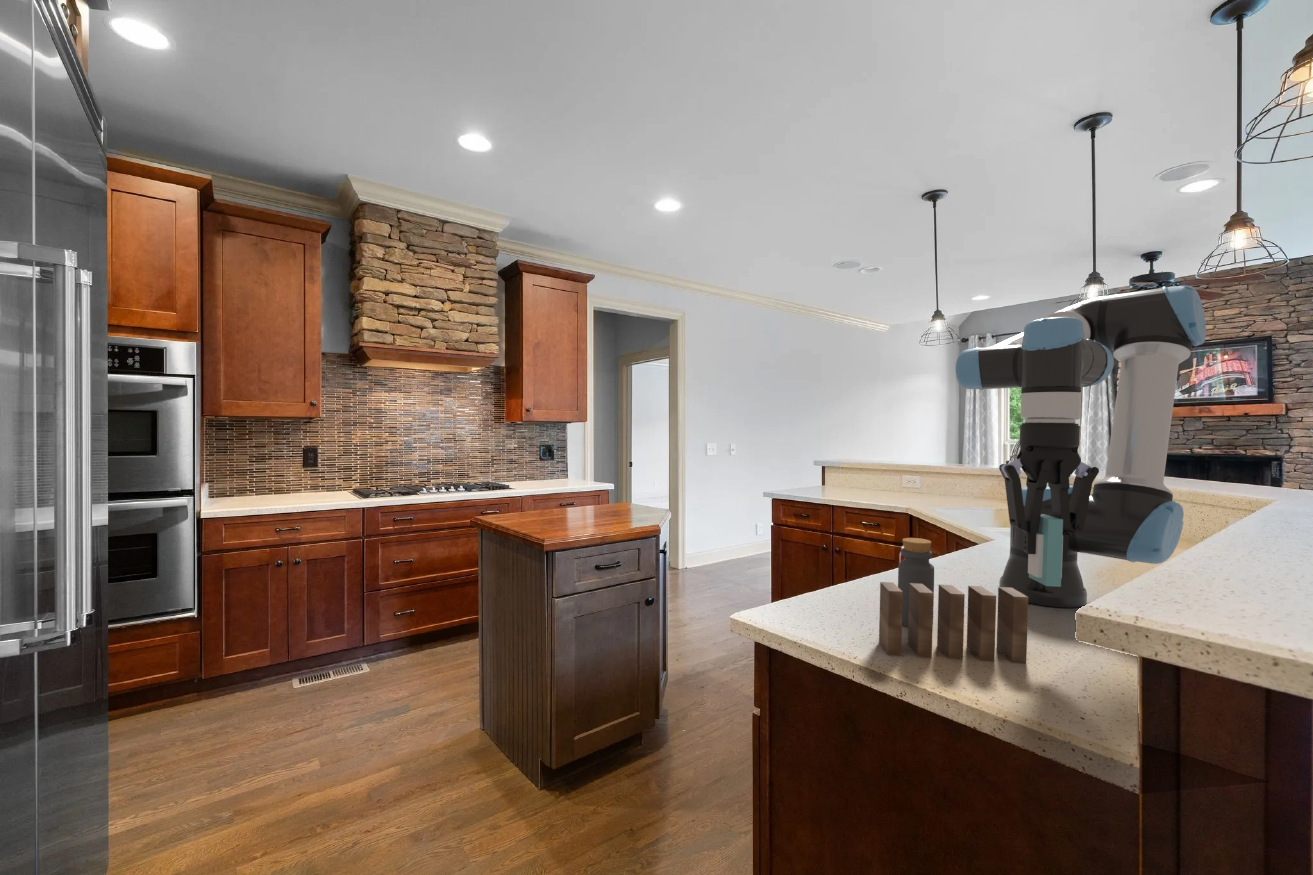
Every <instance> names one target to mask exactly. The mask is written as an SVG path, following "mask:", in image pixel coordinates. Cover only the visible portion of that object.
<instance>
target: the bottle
mask: <svg viewBox="0 0 1313 875" xmlns="http://www.w3.org/2000/svg"><path fill="white" fill-rule="evenodd" d="M902 544H903V545H902V546H904V548H900V551H901V555H903V556H904V560H903V561H901V562H900V563H899V562H898V569H897V571H898V572H897V573H898V574H897V578H898V579H897V587H898V588H899V589H900V590H901V591H902V592H903V595H902V627H905V628H908V617H909V583H917V584H923V585H924V586H926V587H927V588H928V589H929V590H930V591H932V592H933V608H934V605H935V604H934V602H935V601H934V599H935V594H934V593H935V567H934V565H933V564H932V563H930V559H932V558H933V551H932V550H931V546H932V541H931V540H929V539H925V538H921V537H920V538H918V537H905V538H902Z"/></svg>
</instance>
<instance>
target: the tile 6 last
mask: <svg viewBox="0 0 1313 875" xmlns="http://www.w3.org/2000/svg"><path fill="white" fill-rule="evenodd" d="M879 583H880V584H879V620H878V621H879V622H878V623H879V630H878V631H879V632H878V644H879V645H880V646H881V648H882V650H884V652H885V654H886V655H887V656H891V657H892V656H893V657H894V656H895V657H901V656H902V635H903V634H902V632H903V629H902V628H903V625H902V595H903V592H902V591H901V590H900V589H899V588H898V585H896V584H895V583H894V582H893V581H892V582H889V581H880V582H879Z"/></svg>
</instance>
